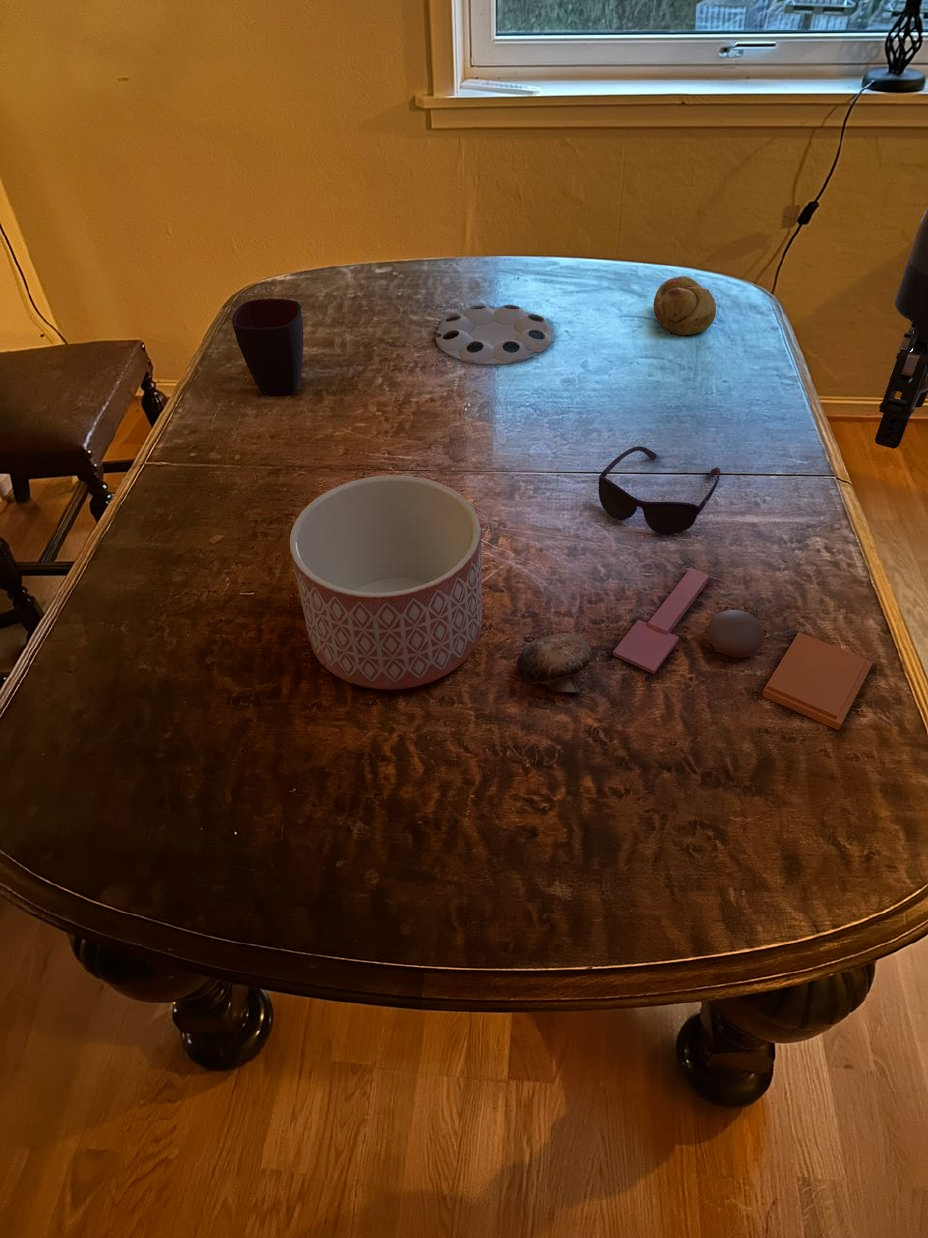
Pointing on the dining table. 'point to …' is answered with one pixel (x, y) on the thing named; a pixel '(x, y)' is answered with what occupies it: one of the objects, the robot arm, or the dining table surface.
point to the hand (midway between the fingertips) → (898, 423)
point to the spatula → (660, 626)
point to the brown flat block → (817, 680)
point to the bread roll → (684, 306)
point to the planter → (390, 580)
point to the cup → (271, 343)
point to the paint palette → (493, 334)
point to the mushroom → (554, 661)
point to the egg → (735, 633)
